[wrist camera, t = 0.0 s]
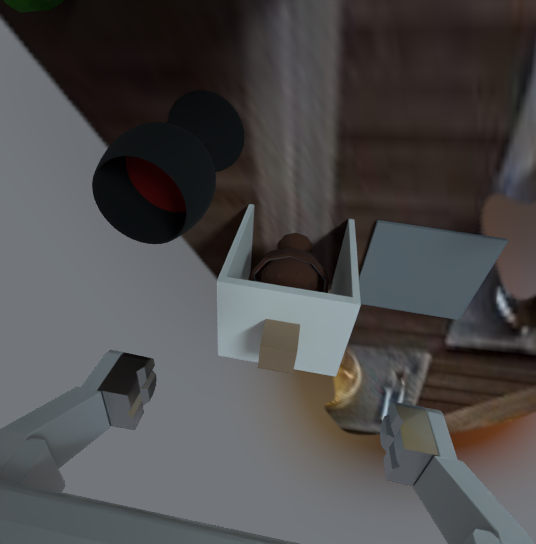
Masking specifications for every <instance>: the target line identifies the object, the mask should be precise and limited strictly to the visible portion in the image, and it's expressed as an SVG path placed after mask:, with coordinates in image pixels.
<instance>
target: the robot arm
mask: <svg viewBox="0 0 536 544" xmlns="http://www.w3.org/2000/svg"><path fill="white" fill-rule="evenodd" d="M154 366H155V364H154V359H152V358H147V357H143V356H138V355H133V354H129V353H124V352H119V351H114V350H110V351H108V352H107V353H106V354H105V355H104V357H103V358H102V359H101V361H100V362H99V363H98V365H97V366H96V367H95V369H94V370H93V371H92V373H91V374H90V376H89V377H88V378H87V380H86V381H85V382H84V384H83V385H82V386H81V387H75V388H74V389H72V390H70V391H68V392H66V393H64V394H63V395H61V396H59V397H57V398H55V399H54V400H52V401H50V402H48V403H46V404H45V405H43V406H41V407H39V408H37V409H36V410H34V411H32V412H30V413H29V414H27V415H25V416H23V417H21V418H20V419H18V420H16V421H14V422H12V423H10V424H9V425H7V426H5V427H3V428H1V429H0V544H298V543H293V542H288V541H284V540H280V539H275V538H270V537H265V536H261V535H256V534H252V533H247V532H243V531H238V530H234V529H229V528H224V527H220V526H215V525H210V524H206V523H201V522H197V521H192V520H187V519H182V518H178V517H174V516H169V515H164V514H160V513H155V512H150V511H145V510H141V509H136V508H132V507H127V506H123V505H118V504H113V503H109V502H104V501H99V500H94V499H90V498H85V497H81V496H76V495H72V494H67V493H62V491H63V489H64V487H65V482H64V479H63V477H62V475H61V473H60V471H59V468H60V467H61V466H63V465H64V464H65V463H66V462H68V461H69V460H70V459H71V458H73V457H74V456H75V455H76V454H77V453H79V452H80V451H81V450H83V449H84V448H85V447H86V446H87V445H88V444H90V443H91V442H93V441H94V440H95V439H96V438H98V437H99V436H100V435H101V434H103V433H104V432H105V431H106V430H108V429H109V428H110V426H114V427H120V428H126V429H132V430H135V429H136V427H137V425H138V423H139V421H140V419H141V417H142V415H143V413H144V410H143V405H144V404H146V403H147V402H149V401H150V399H151V397H152V395H153V393H154V390H155V386H156V374H155V373H154V371H152V370H153V368H154ZM388 410H389V415H387V416H385V417H384V419H383V421H382V425H381V445H382V447H383V448H384V450H385V451H386V452H387V453H386V456H385V457H384V459H383V461H384V467H385V474H386V480H388V481H392V482H396V483H401V484H405V485H410V486H414V487H413V488H414V490H415V492H416V493H417V495H418V496H419V498H420V500H421V501H422V503H423V504H424V506H425V508H426V509H427V511H428V512H429V514H430V515H431V517H432V519H433V520H434V522H435V524H436V525H437V527H438V528H439V530H440V531H441V533H442V535H443V536H444V538H445V540H446V541H447V543H448V544H534V542H533V540H532V538H531V537H530V536H529V535H528V534H527V533H526V532H525V531H524V529H523V528H522V527H521V526H520V525H519V524H518V523H517V522H516V520H515V519H514V518H513V517H512V516H511V515H510V514H509V513H508V511H507V510H506V509H505V508H504V507H503V506H502V505H501V504H500V503H499V502H498V500H497V499H496V498H495V497H494V496H493V495H492V494H491V493H490V491H489V490H488V489H487V488H486V487H485V486H484V485H483V484H482V483H481V481H480V480H479V479H478V478H477V477H476V476H475V475H474V474H473V472H472V471H471V470H470V469H469V468H468V467H467V466H466V465H465V463H464V462H463V461H459V460H457V456H456V453H455V450H454V447H453V444H452V441H451V438H450V435H449V432H448V429H447V425H446V422H445V419H444V416H443V413H442V412H441V411H440V410H435V409H429V408H423V407H420V406H414V405H408V404H402V403H396V402H392V403H391V404H390V406H389V408H388Z"/></svg>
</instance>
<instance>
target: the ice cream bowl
mask: <svg viewBox="0 0 536 544" xmlns="http://www.w3.org/2000/svg"><path fill="white" fill-rule="evenodd" d="M251 281H255V282H261V283H268V284H274V285H280V286H286V287H292V288H298V289H304V290H311V291H317V292H323V293H328V285H329V278H328V274H327V273H326V271H325V270H324V269H323V267H322V266H321V265H320V264H319V262H318V261H317V260H316V258H315V257H314V256H313V255H312V243H311V242H310V241H309V239H308V238H307V237H306V236H303V235H301V234H298V233H293V234H288V235H285V236H284V237H283V238H282V239H281V240H280V242H279V250H274V251H271V252H269V253H268V254H267V255H266V256H265V257H264V258H263V259H262V260H261V261H260V262H259V263H258V265H257V266H256V267H255V268H254V269H253V271H252V272H251Z"/></svg>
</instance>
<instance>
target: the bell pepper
mask: <svg viewBox="0 0 536 544" xmlns="http://www.w3.org/2000/svg"><path fill="white" fill-rule="evenodd" d="M3 1H4V2H5V3H7V4H8V5H9V6H10V7H12V8H13V9H15V10H16V11H18V12H33V11H44V10H51V9H52V8H54V7H56V6H58V5H59V4H60V3H62V2H63V1H64V0H3Z"/></svg>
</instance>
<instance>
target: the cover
mask: <svg viewBox="0 0 536 544" xmlns="http://www.w3.org/2000/svg"><path fill="white" fill-rule="evenodd" d="M253 220H254V205H251V204H249V206H248V208H247V210H246V213H245V215H244V218H243V220H242V222H241V225H240V227H239V229H238V232H237V234H236V237H235V239H234V241H233V244H232V246H231V248H230V251H229V253H228V255H227V258H226V260H225V263H224V265H223V267H222V270H221V272H220V274H219V277H218V279H217V325H218V355H220V356H225V357H230V358H236V359H242V360H247V361H252V362H258V368H261V369H266V370H272V371H277V372H283V373H289V374H293V370H294V369H297V370H302V371H308V372H314V373H319V374H325V375H330V376H336V374H337V372H338V369H339V366H340V363H341V360H342V357H343V354H344V352H345V349H346V346H347V343H348V340H349V337H350V334H351V332H352V329H353V326H354V323H355V320H356V317H357V314H358V311H359V309H360V306H361V302H360V289H359V275H358V262H357V249H356V236H355V223H354V220H353V219H349V220H348V224H347V227H346V231H345V235H344V239H343V243H342V247H341V250H340V254H339V258H338V262H337V266H336V270H335V273H334V277H333V281H332V285H331V294H329V293H323V292H317V291H311V290H304V289H298V288H292V287H286V286H280V285H274V284H268V283H261V282H255V281H249V280H248V278H249V275H250V270H251V254H252V237H253Z"/></svg>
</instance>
